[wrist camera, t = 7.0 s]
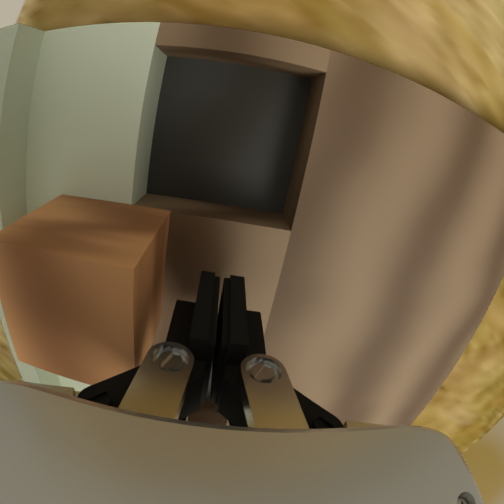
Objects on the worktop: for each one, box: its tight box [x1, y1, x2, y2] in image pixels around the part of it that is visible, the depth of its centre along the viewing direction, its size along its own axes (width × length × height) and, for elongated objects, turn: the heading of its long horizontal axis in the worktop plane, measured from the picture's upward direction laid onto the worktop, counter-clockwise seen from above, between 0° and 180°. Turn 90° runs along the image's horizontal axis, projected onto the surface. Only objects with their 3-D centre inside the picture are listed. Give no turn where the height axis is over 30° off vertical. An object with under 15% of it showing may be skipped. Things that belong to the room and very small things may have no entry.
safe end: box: [0, 22, 167, 391], centre depth 13 cm, size 7×22×4 cm, turn 169°
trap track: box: [134, 22, 504, 425], centre depth 15 cm, size 21×22×2 cm
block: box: [0, 195, 171, 385], centre depth 10 cm, size 5×5×5 cm
